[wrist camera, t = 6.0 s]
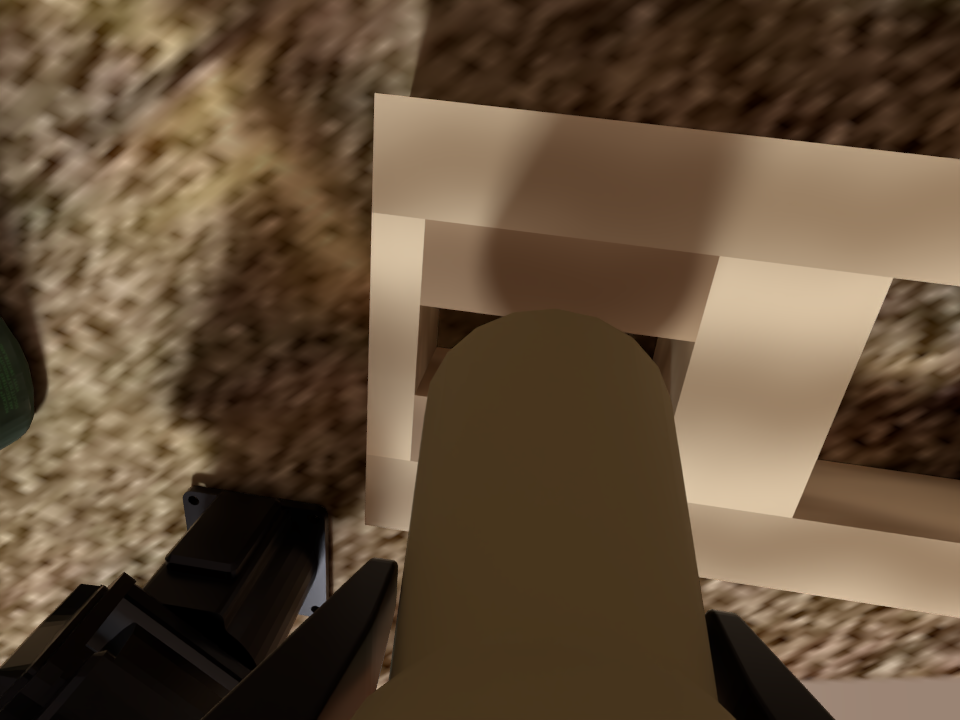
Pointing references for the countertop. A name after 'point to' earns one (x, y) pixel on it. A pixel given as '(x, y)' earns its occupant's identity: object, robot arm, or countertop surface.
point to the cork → (549, 538)
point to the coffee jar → (14, 389)
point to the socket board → (678, 315)
